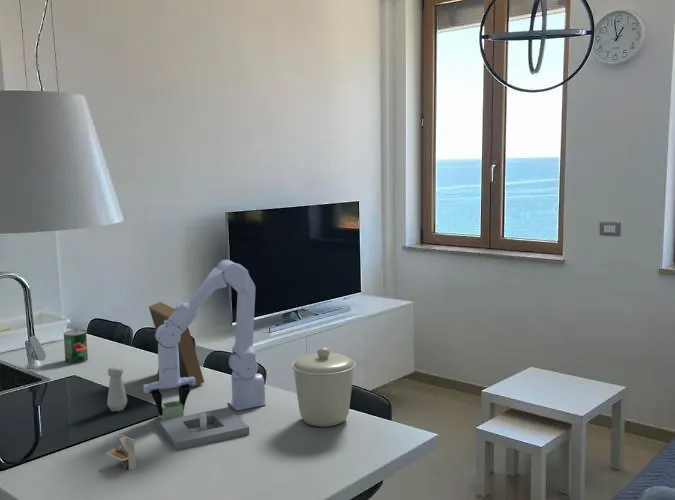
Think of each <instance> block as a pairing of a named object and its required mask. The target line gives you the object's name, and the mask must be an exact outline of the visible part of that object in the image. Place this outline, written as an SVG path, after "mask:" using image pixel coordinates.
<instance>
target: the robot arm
mask: <svg viewBox="0 0 675 500" xmlns="http://www.w3.org/2000/svg"><path fill="white" fill-rule="evenodd" d="M227 284H228V285H230V286H231V287H232V288H233V290H235V291H236V292H237V296H236V297H237V298H236V301H237V302H236V315H235V316H236V317H235V319H236V320H235V341H234V342H235V343H234V345H233V346H232V351H231V354H230V356H229V357H228V365H229V368H230V369H231V370H232V373H231V397H232V400H228V401H227V404H229V406H231V408H233V409H234V410H235V411H243V410H247V409H248V410H249V409H251V408H252V409H253V408H257V407H261V406H262V407H263V406H266V405H267V403H266V391H265V390H266V388H265V387H266V386H265V380H264V377H263V375H262V374H261V373H258V371H259V370H258V369H259V364H258V362H257V359H256V352H255V349H254V327H255V308H256V307H255V304H256V285H255V283H254V281H253V279H252V278H251V276H250V274H249V270H248V269H247V268H245V267H244V266H243V265H242V264H240V263H236V262H233V260H230V259H222V260H221V261H219V262H218V263H217V265H216V267H213V268H212V270H210V272H209V274H208V276H206V278H205V280H204V281H203V282H202V283H201V284H200V286H199V287H198V288H197V290H196V291H195V292H194V294H193V295H192V297H190V299H189V300H188V301H187V302H182V303H180V304H179V305H176V306H175V307H173V308H174V309H175V312H174V313H173V314H172V315H171V316H170V317H169V319H168V320H165V321H164V323H165V324H163V325H161V326H159V327H158V329H157V330H156V329H155V334H154V338H155V340H156V341H157V342H158V343H157V365H158V368H159V381H156V380H155V381H153V382H149V383H147V384H143V385H142V386H143V393H145V394H149V393H150V395H151V397H152V399H153V401H154V404H155V407H156V410H157V414H158V416H159V415H160V416H162V402H163V401H162V400H163V393H162V390H169V389H174V388H177V391H178V398H179V399H178V401H179V402H180V403H181V404H182V405H183V412H184V411H185V407H186V402H187V399H188V396H189V395H190V393H191V390H192V387H191V386H189V385H196V380H195V378H194V377H183V378H180V371H179V350H178V343H179V342H180V339H181V334H182V333H183V332H184V331H185V330H186V329H187V327H188V328H189V326H190V325H191V324H192V323H193V322H194V321H195V320H196V318H197V317H198V309H199V308H200V307H201V306H202V305H203V304H204V303H205V302H206V301H207V300H208V298H209V297H210V296H211V295H212V294H213V293H214V292H215V291H216V290H219V289H223V288H227V287H228V285H227ZM182 330H183V331H182Z"/></svg>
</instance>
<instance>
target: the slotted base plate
mask: <svg viewBox="0 0 675 500" xmlns="http://www.w3.org/2000/svg"><path fill="white" fill-rule="evenodd" d="M212 423H214V424H215V425H216V426H217V427H215V428H207V427H208V424H212ZM198 426H199V430H198V431H194V432H192V431H191V430H190V429H189V428H192V427H198ZM158 428H159V430H160V431H161V433H162V434H163V436H164V437H165V438H166V439H167V440H168V442H169V443H170V444H171V445H172V447H173V448H174V450H176V451H179V450H184V449H188V448H193V447H196V446H201V445H206V444H207V445H208V444H211V443H215V442H219V441H223V440H228V439H233V438H238V437H242V436H248V435H250V426H249V425H248V424H246V423H245V422H244V421H243V420H242V419H241V418H240V417H239V416H238V415H236V414H235V412H233V411H232V410H231V409H230V408H229V407H223V408H218V409H211V410H207V411H202V412H198V413H193V414H187V415H184V416H181V417H176V418H170V419H165V420H158ZM183 448H184V449H183ZM178 449H179V450H178Z"/></svg>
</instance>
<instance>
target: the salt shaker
mask: <svg viewBox="0 0 675 500" xmlns="http://www.w3.org/2000/svg"><path fill="white" fill-rule="evenodd" d="M123 373H124V368H123V366H119V365H113V366H110V367H109V368H108V370H107V375H108V376H109V377H110V378H109V384H108V385H109V386H108V392H107V401H106V404H107V407H108V408H109V409H110V411H111V412H114V411H118V412H121V410H122V411H124V410H125V409H124V408H126V406H127V403H128V397H127V393H126V388H125V384H124V381H123V376H122V375H123Z"/></svg>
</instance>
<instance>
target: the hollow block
mask: <svg viewBox="0 0 675 500" xmlns="http://www.w3.org/2000/svg"><path fill="white" fill-rule="evenodd" d="M181 416H185V415H184V411H183V405H182V404H181V403H180V402H179V399H174V400H170V401H164V402H163V401H162V416H160V415H159V414H158V417H159V419H161V420H165V419H170V418H176V417H181Z"/></svg>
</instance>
